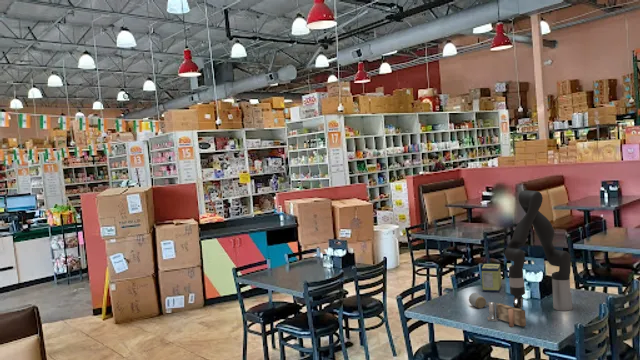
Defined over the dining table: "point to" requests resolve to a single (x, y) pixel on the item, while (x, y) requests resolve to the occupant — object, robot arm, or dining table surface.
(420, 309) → the dining table surface
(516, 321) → the gate
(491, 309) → the hinge post
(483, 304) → the ceramic mug
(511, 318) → the latch post
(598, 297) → the dining table surface
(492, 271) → the protein box
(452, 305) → the dining table surface
